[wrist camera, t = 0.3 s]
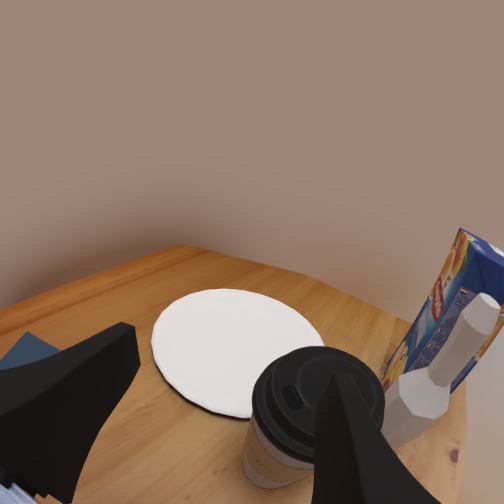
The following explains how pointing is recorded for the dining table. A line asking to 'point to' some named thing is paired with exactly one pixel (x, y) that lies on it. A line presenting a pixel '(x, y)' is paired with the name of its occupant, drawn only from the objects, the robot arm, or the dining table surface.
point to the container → (27, 352)
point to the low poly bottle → (436, 375)
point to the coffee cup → (298, 411)
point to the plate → (225, 345)
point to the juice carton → (451, 306)
